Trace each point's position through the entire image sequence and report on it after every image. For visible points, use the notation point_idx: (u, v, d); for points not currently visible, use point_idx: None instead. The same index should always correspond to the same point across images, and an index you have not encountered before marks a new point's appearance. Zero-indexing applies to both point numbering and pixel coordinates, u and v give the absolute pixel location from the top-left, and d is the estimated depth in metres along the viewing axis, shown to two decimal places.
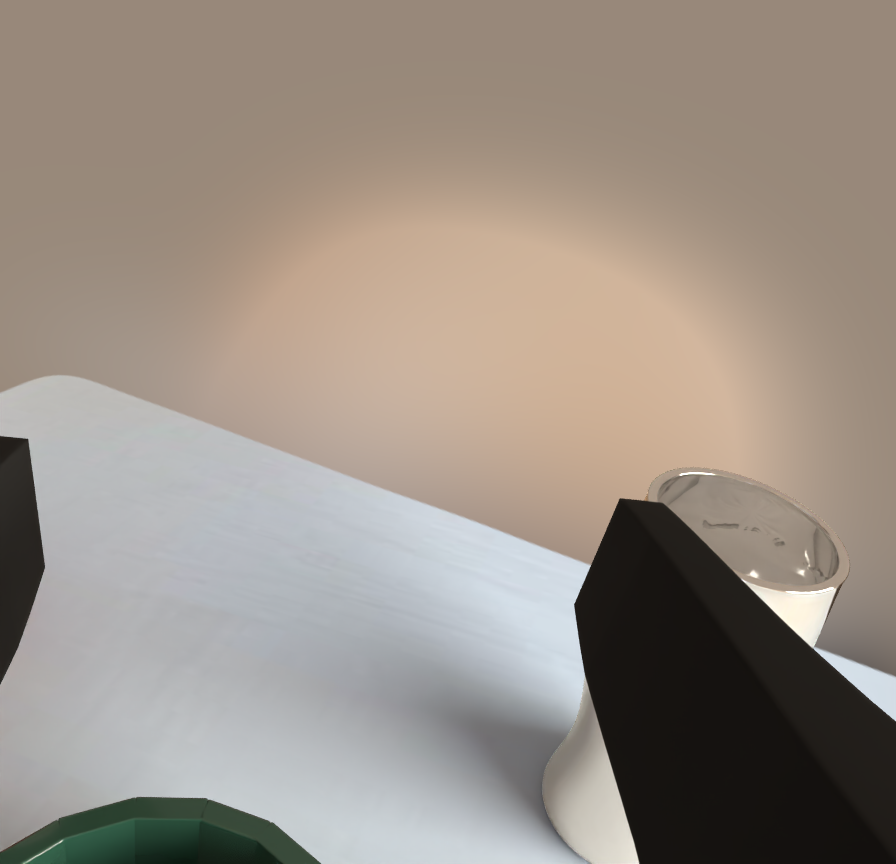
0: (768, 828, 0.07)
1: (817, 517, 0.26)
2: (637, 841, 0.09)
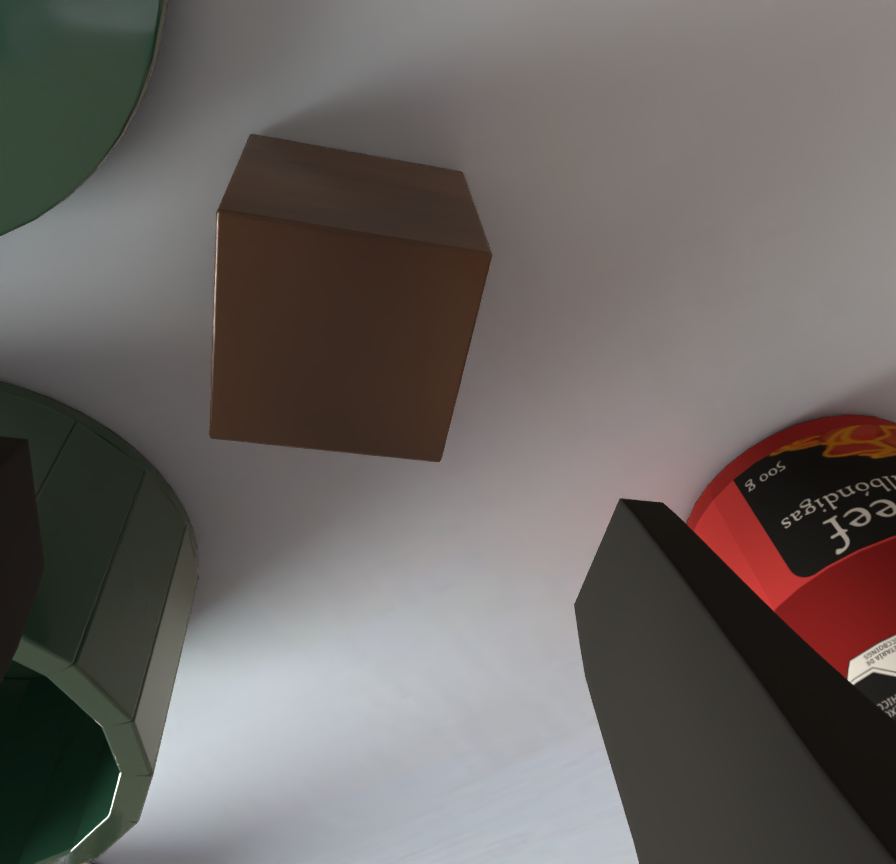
0: (768, 828, 0.07)
1: None
2: (637, 842, 0.09)
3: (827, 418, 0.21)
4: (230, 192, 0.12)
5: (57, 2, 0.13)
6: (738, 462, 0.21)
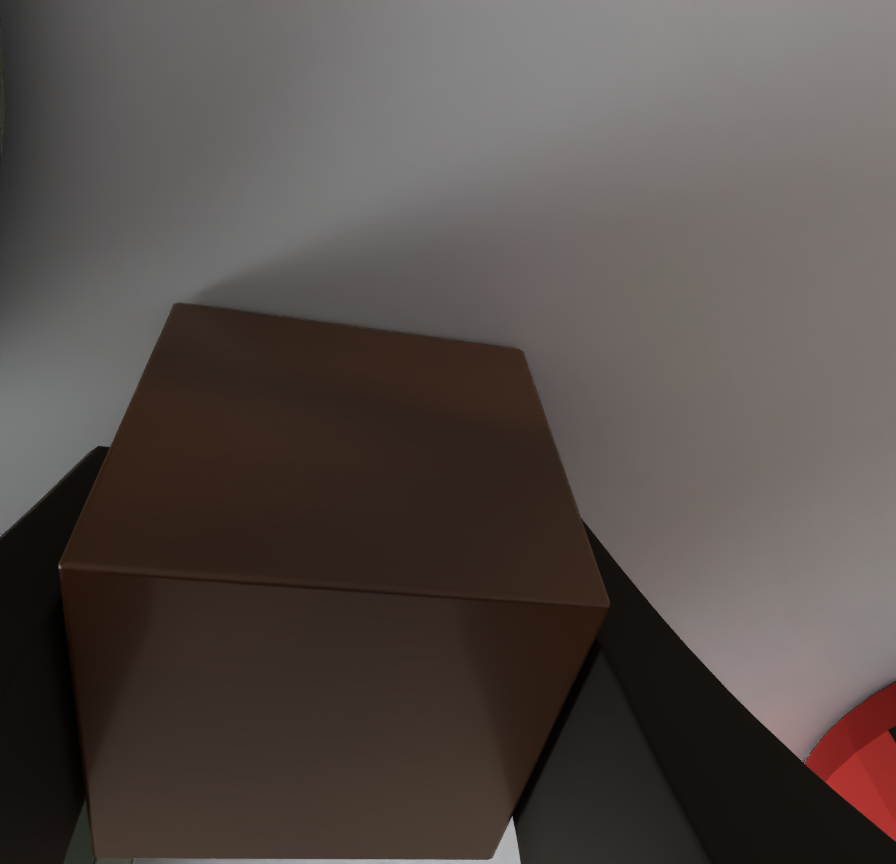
0: (616, 826, 0.06)
1: None
2: (520, 841, 0.08)
3: None
4: (100, 492, 0.06)
5: None
6: (892, 700, 0.15)
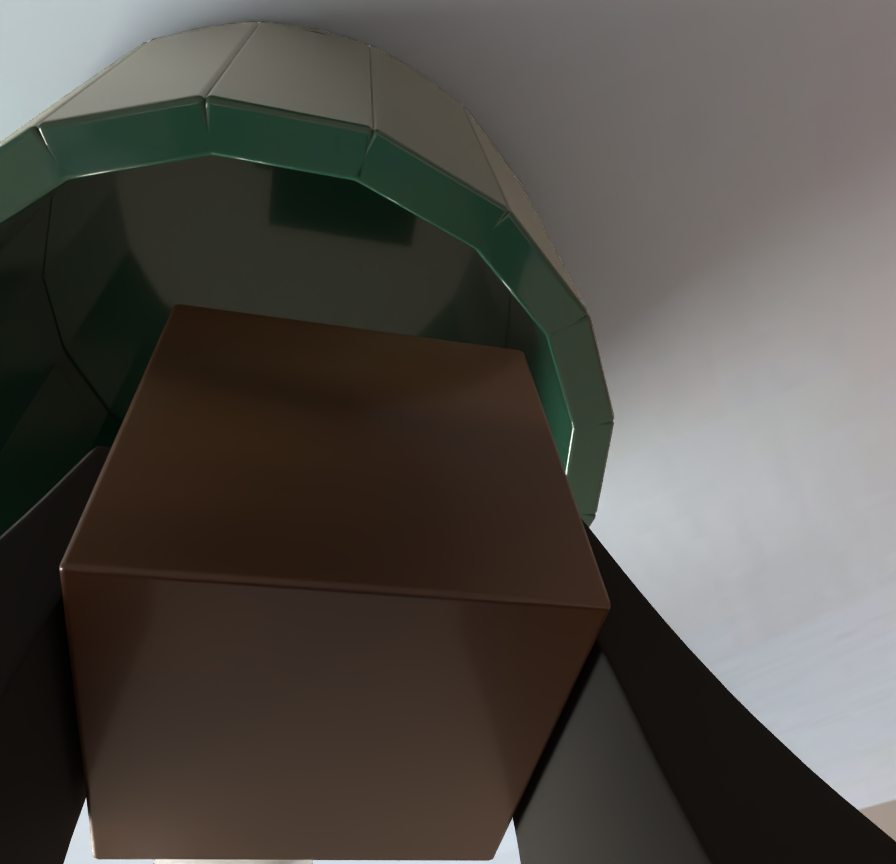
0: (616, 826, 0.06)
1: None
2: (520, 841, 0.08)
3: None
4: (101, 494, 0.06)
5: None
6: None
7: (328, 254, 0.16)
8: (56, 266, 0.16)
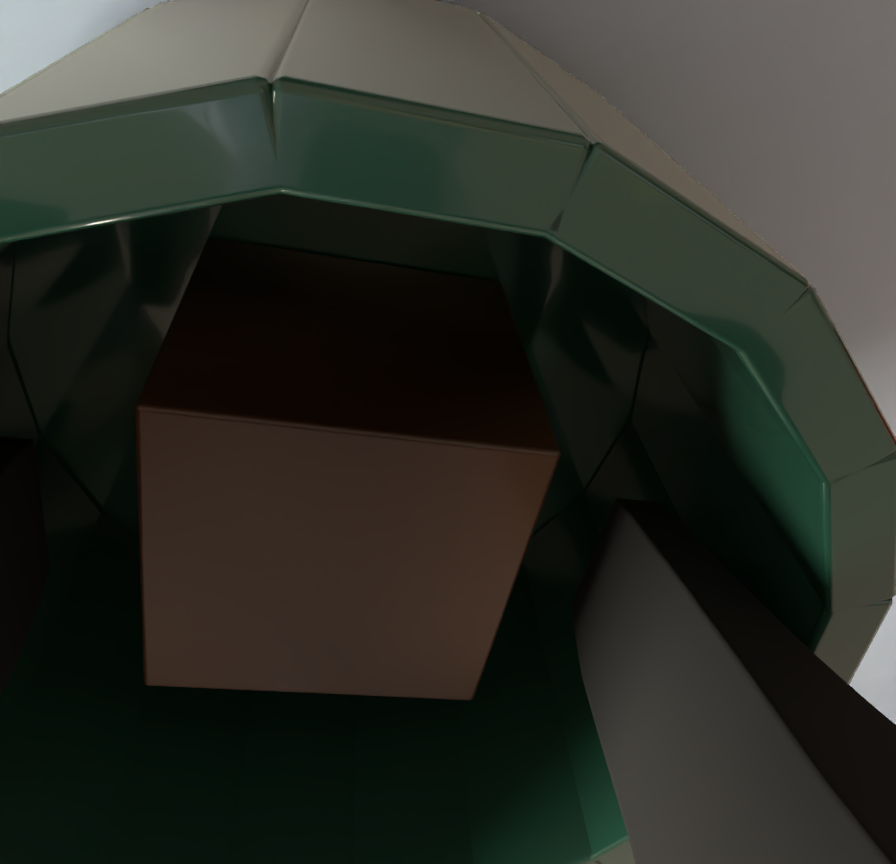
0: (763, 828, 0.07)
1: None
2: (634, 842, 0.09)
3: None
4: (162, 362, 0.08)
5: None
6: None
7: None
8: (26, 327, 0.12)
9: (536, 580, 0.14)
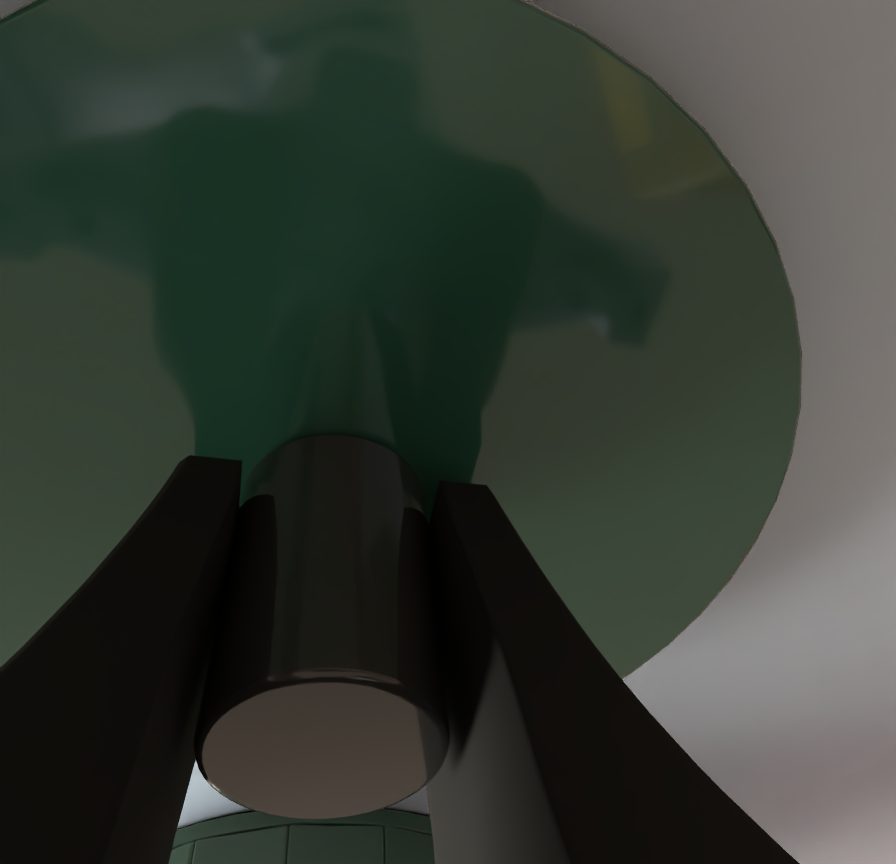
0: (503, 825, 0.06)
1: None
2: (435, 840, 0.08)
3: None
4: None
5: (627, 584, 0.11)
6: None
7: None
8: None
9: None
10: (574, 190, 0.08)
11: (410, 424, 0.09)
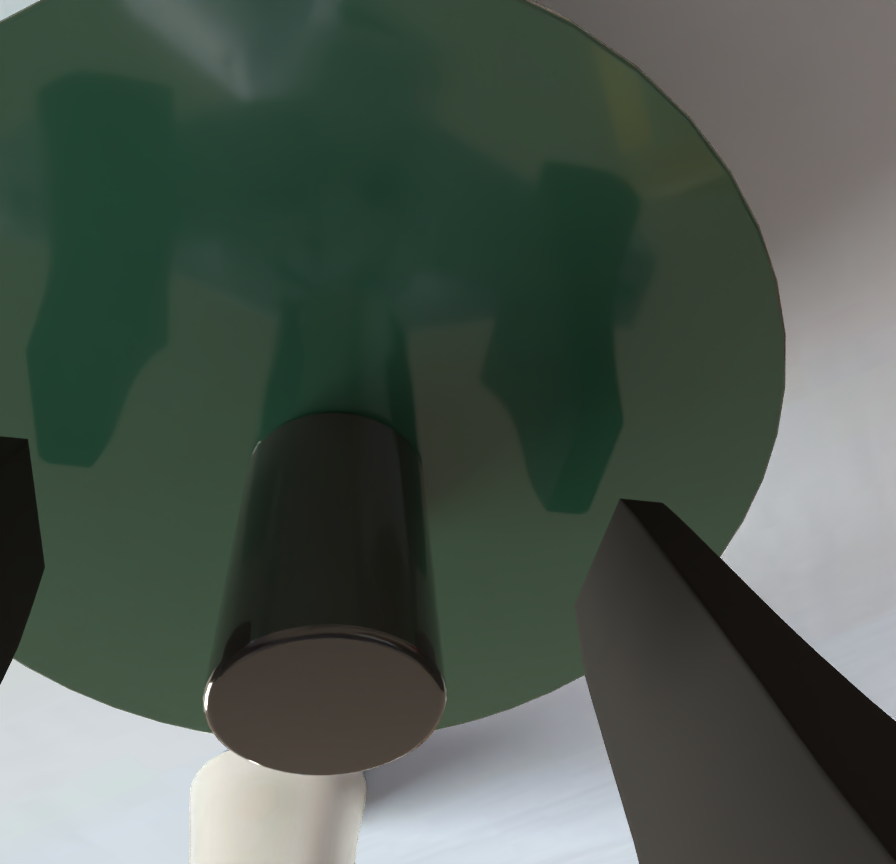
0: (768, 828, 0.07)
1: None
2: (638, 841, 0.09)
3: None
4: None
5: None
6: None
7: None
8: None
9: None
10: (565, 174, 0.08)
11: (409, 403, 0.10)
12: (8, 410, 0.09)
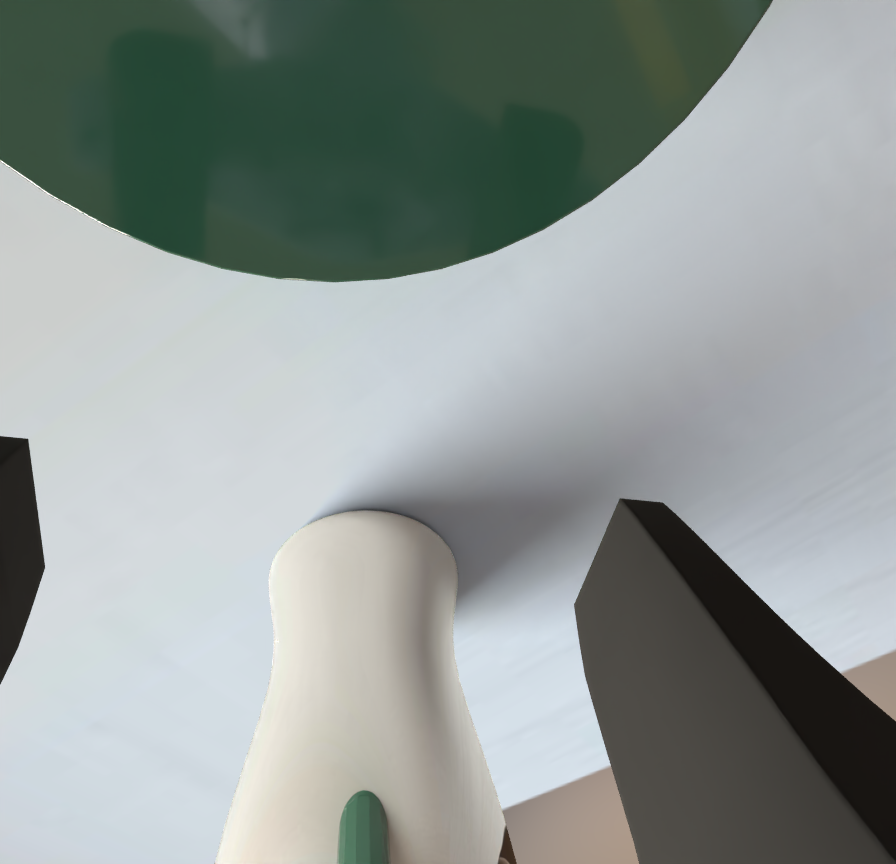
0: (768, 828, 0.07)
1: None
2: (637, 841, 0.09)
3: None
4: None
5: None
6: None
7: None
8: None
9: None
10: None
11: None
12: None
